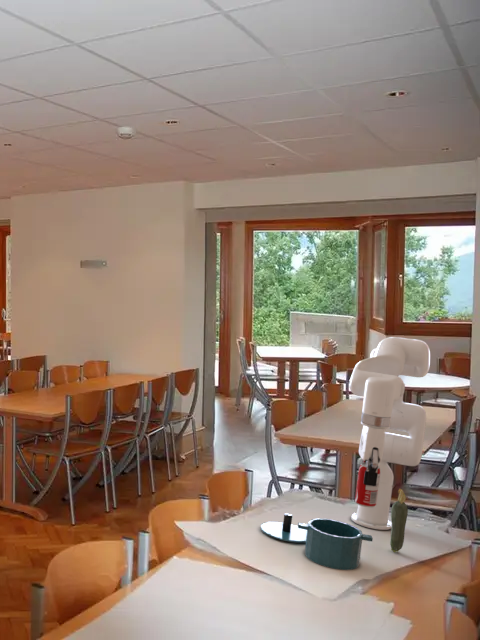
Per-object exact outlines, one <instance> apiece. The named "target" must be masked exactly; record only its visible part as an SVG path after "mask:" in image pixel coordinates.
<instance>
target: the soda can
mask: <svg viewBox="0 0 480 640" xmlns="http://www.w3.org/2000/svg"><path fill="white" fill-rule="evenodd" d="M370 464H372V463H370ZM370 464H369V465H370ZM366 468H367V463H364V462H363V463H362V462H361V463H360V465H359V467H358V473H357V480H356V489H355V495H354V496H355V497H354V501H355V503H356V504H357V506H358V505H360V506H363V507H374V506H375V505H376V501H377V494H378V486H379V478H380V467H379V466H378V475H377V483H376V486H370V485H364V475H365V471H366Z"/></svg>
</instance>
